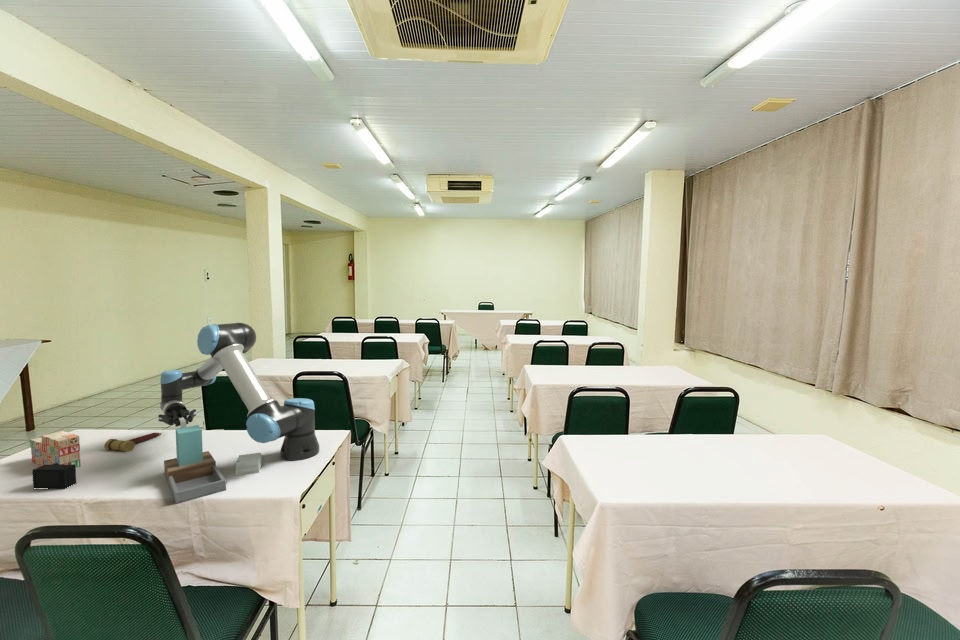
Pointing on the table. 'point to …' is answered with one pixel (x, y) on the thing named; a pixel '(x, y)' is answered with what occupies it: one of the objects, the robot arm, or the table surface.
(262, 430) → the robot arm
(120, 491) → the table surface
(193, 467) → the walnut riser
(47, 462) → the stack of blocks
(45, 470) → the digital camera
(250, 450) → the table surface
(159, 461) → the table surface
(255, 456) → the small box
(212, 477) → the bin
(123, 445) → the gavel
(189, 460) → the teal block
